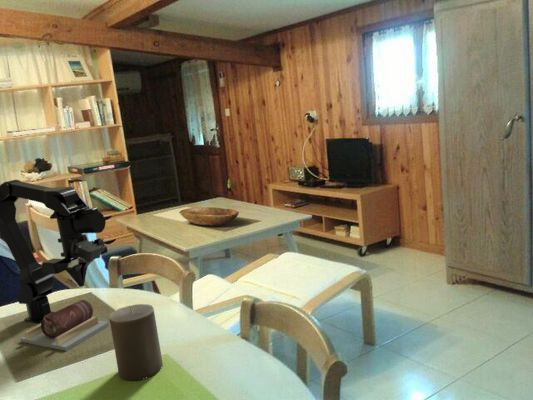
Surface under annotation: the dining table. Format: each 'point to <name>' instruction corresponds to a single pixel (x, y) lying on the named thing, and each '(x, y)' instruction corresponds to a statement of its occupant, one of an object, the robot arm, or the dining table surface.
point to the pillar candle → (136, 341)
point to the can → (66, 318)
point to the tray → (65, 335)
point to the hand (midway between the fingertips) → (81, 286)
